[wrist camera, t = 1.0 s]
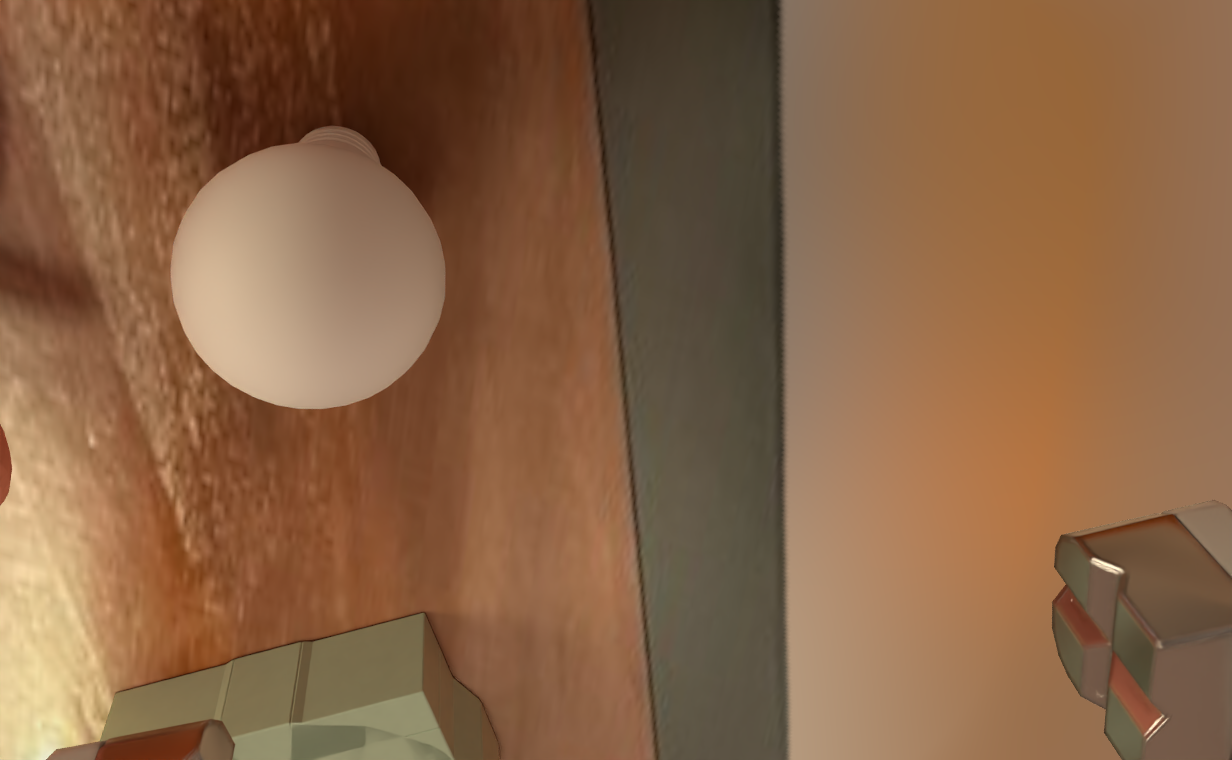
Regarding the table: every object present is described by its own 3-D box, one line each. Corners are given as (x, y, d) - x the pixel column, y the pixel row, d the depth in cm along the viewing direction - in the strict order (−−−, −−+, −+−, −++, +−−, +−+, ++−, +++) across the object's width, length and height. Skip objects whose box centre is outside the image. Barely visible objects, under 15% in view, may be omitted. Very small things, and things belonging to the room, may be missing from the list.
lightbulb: (487, 151, 33) (505, 327, 24) (356, 291, 35) (326, 506, 26) (317, 6, 31) (263, 142, 21) (185, 166, 32) (81, 356, 23)
